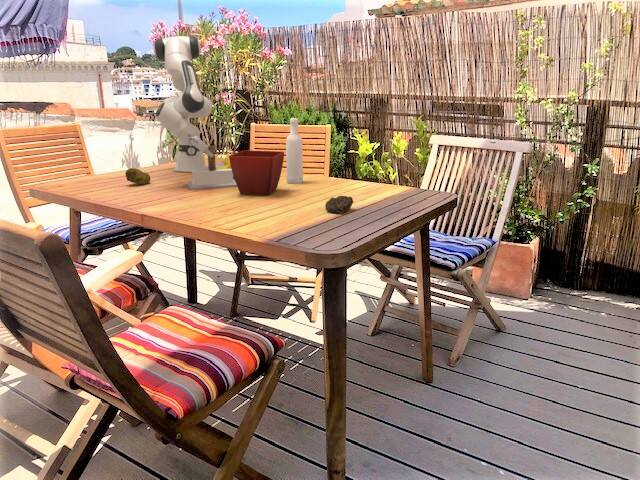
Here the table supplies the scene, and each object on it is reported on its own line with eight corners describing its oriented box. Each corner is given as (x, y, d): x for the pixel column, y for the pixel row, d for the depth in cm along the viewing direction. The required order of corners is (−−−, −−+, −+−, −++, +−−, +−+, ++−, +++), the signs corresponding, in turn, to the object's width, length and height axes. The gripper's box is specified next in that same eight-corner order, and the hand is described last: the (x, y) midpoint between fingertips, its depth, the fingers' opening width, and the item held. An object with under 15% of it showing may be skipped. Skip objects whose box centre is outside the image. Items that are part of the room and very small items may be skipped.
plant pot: (273, 197, 218) (272, 156, 213) (229, 195, 221) (227, 155, 217) (285, 189, 236) (285, 151, 231) (245, 187, 239) (243, 150, 235)
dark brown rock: (336, 206, 203) (336, 193, 202) (358, 210, 197) (358, 196, 196) (317, 211, 194) (317, 198, 193) (339, 215, 188) (340, 201, 187)
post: (208, 170, 243) (206, 146, 240) (215, 169, 244) (213, 145, 241) (209, 171, 240) (207, 146, 237) (216, 170, 241) (215, 146, 238)
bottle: (302, 184, 248) (302, 118, 240) (285, 184, 248) (284, 118, 240) (303, 181, 256) (302, 117, 247) (287, 181, 256) (286, 117, 248)
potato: (156, 183, 248) (155, 166, 246) (130, 187, 239) (129, 169, 237) (147, 181, 254) (146, 165, 251) (122, 185, 245) (120, 168, 243)
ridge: (187, 184, 247) (186, 169, 245) (233, 181, 254) (233, 167, 252) (190, 189, 234) (189, 174, 232) (239, 186, 241) (239, 171, 239)
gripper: (195, 130, 225) (219, 152, 231) (189, 127, 243) (212, 147, 249) (185, 141, 225) (209, 163, 231) (180, 137, 243) (203, 157, 249)
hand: (211, 155), depth 240 cm, fingers open, 8 cm apart
